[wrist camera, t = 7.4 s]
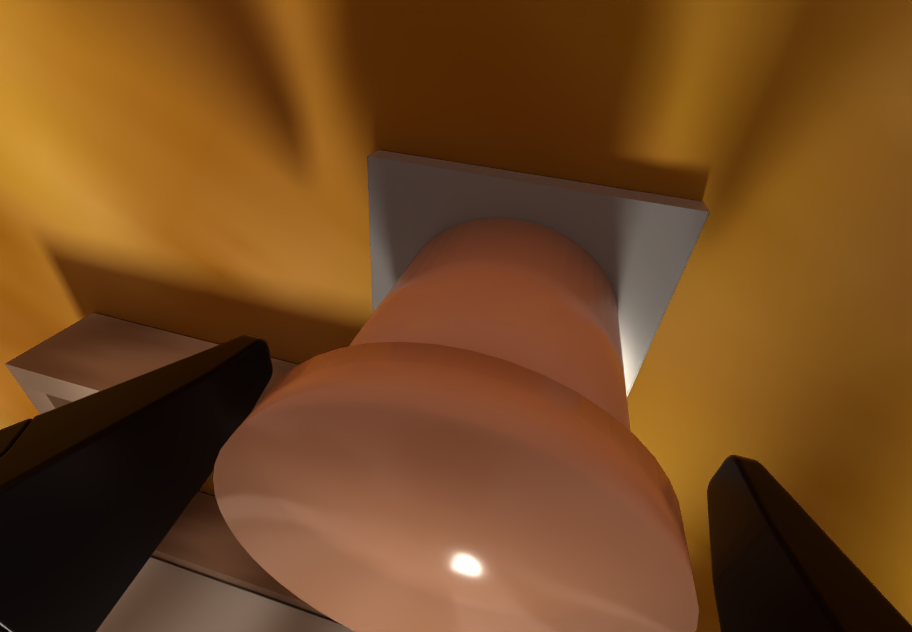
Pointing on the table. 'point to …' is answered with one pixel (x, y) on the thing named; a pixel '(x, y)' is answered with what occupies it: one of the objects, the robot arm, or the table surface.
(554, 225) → the grey square panel
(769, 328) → the table surface
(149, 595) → the hinged wooden box
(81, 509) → the robot arm
